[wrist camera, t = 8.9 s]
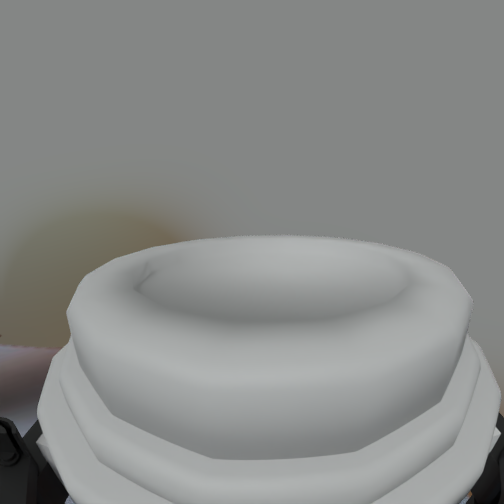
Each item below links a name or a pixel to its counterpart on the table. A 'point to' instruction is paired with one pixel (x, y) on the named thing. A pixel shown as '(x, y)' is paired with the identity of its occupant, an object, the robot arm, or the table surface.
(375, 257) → the coffee cup
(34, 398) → the table surface
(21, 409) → the table surface
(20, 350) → the table surface
